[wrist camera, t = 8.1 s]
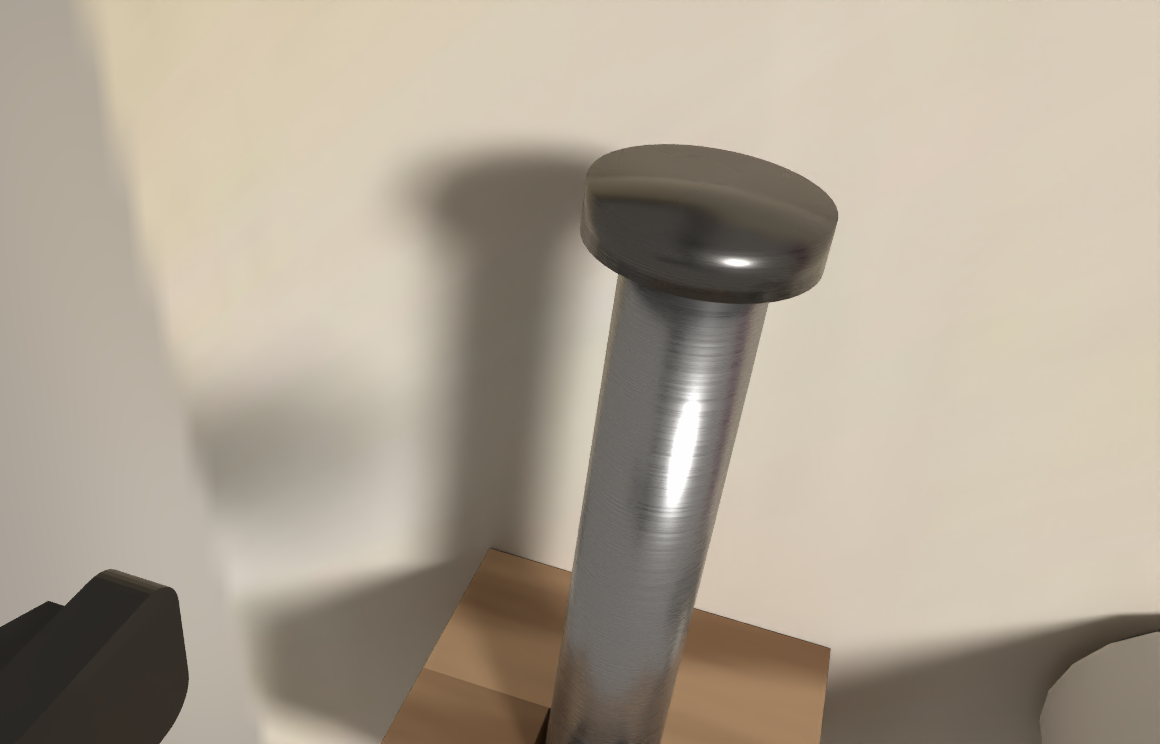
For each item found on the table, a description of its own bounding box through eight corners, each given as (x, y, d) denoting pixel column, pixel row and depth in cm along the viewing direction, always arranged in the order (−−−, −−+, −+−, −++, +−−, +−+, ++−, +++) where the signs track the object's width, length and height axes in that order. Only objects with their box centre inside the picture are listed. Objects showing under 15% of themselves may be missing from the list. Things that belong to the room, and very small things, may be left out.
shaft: (622, 128, 21) (554, 209, 17) (847, 176, 20) (827, 272, 16) (528, 775, 31) (474, 910, 28) (671, 822, 30) (636, 968, 27)
